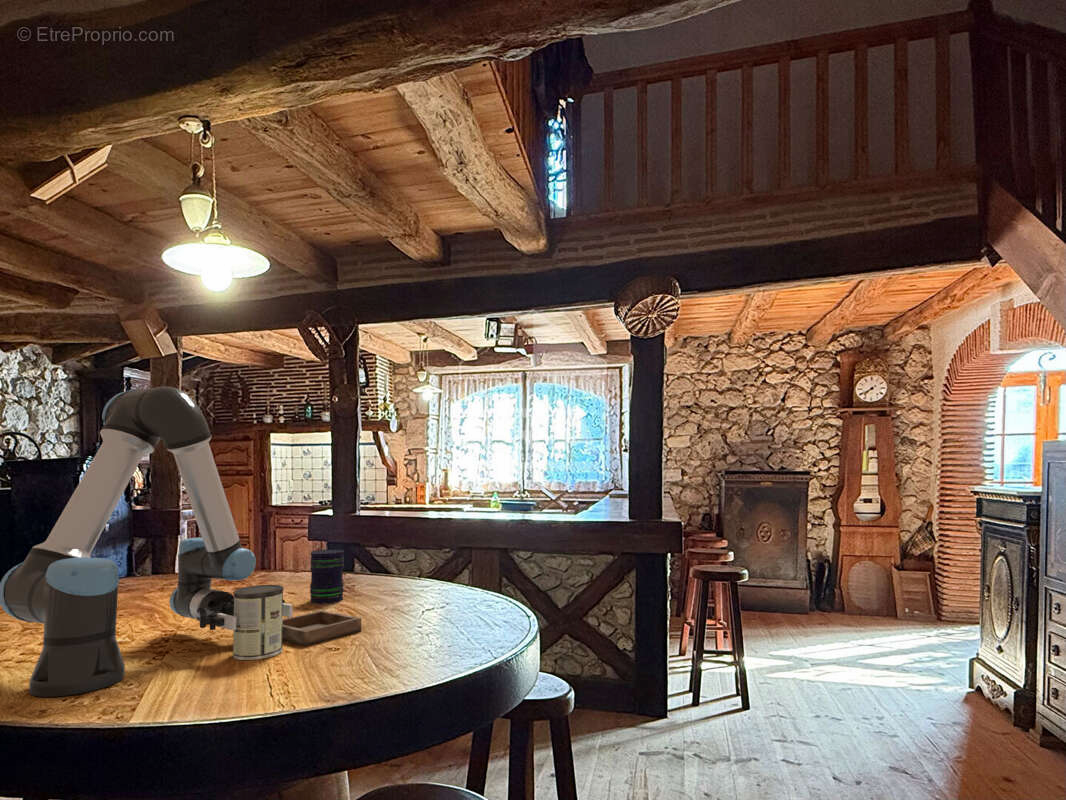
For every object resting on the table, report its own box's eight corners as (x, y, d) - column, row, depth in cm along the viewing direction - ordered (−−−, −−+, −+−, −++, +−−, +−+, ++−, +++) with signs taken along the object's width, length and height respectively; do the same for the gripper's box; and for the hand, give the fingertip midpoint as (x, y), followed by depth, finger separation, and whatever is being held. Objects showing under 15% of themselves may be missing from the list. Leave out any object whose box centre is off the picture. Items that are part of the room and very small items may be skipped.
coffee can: (243, 647, 149) (245, 585, 150) (289, 646, 149) (290, 583, 150) (223, 661, 138) (225, 593, 140) (272, 660, 139) (273, 592, 140)
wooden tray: (361, 631, 161) (361, 618, 162) (305, 646, 149) (305, 632, 149) (322, 622, 171) (322, 610, 171) (266, 636, 158) (266, 623, 158)
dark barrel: (315, 605, 192) (316, 554, 194) (305, 600, 200) (306, 551, 201) (348, 601, 198) (348, 551, 199) (337, 596, 206) (337, 548, 207)
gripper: (261, 612, 166) (312, 622, 154) (159, 633, 146) (207, 648, 134) (262, 582, 167) (312, 590, 154) (160, 599, 147) (208, 610, 134)
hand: (264, 617), depth 144 cm, fingers open, 13 cm apart
